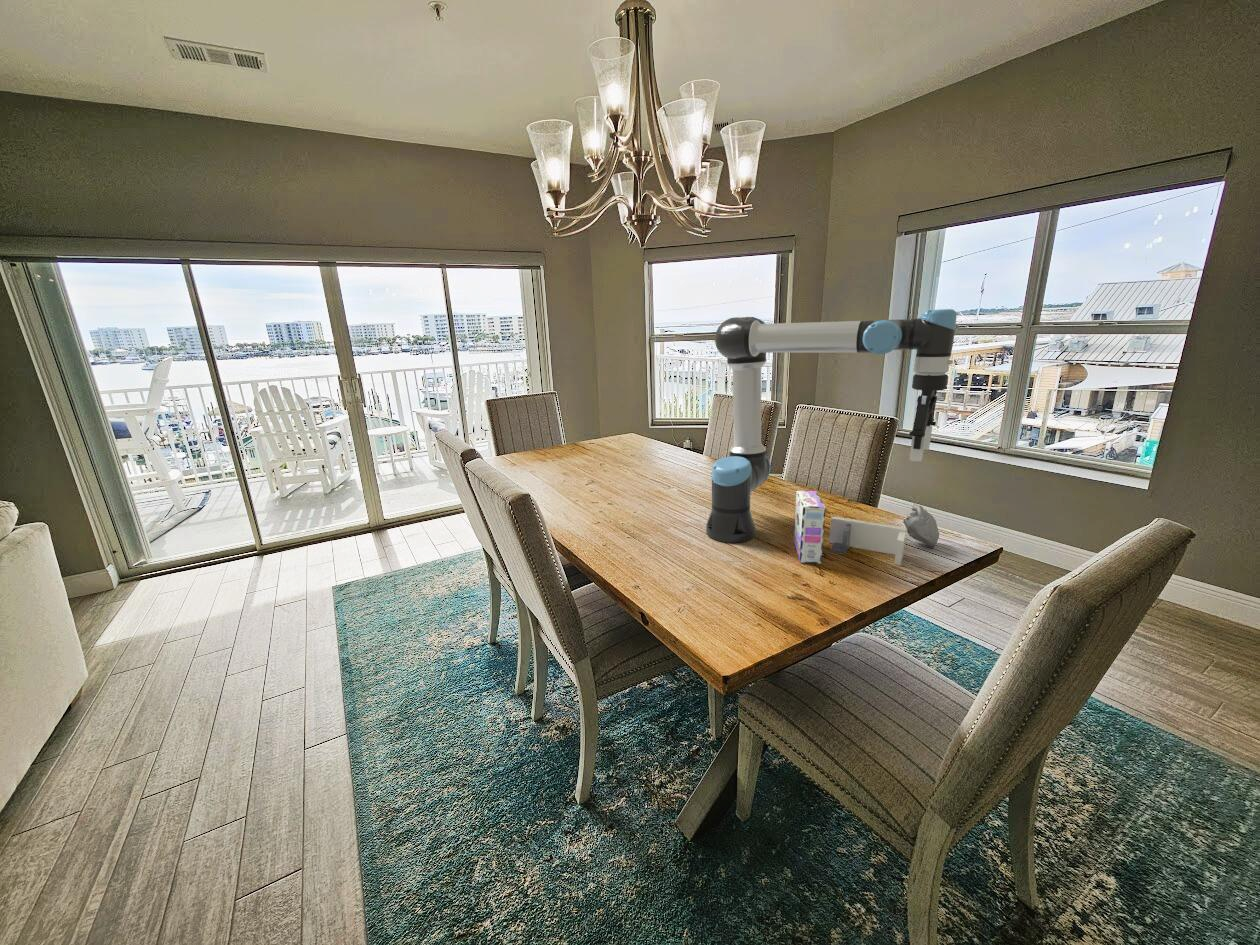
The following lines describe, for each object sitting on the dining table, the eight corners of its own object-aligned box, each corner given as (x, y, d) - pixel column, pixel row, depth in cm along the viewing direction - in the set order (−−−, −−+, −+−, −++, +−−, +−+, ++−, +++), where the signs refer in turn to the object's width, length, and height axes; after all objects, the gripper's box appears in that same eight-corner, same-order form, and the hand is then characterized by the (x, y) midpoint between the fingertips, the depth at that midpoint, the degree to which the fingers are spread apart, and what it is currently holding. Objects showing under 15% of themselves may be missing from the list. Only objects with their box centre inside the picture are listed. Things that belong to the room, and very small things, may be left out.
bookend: (830, 551, 135) (831, 528, 133) (834, 543, 140) (836, 521, 138) (845, 554, 133) (847, 531, 131) (849, 546, 138) (851, 523, 136)
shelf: (824, 550, 136) (826, 525, 134) (830, 540, 142) (832, 516, 140) (900, 565, 126) (904, 538, 124) (903, 554, 132) (906, 527, 130)
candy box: (822, 564, 128) (826, 507, 124) (799, 563, 129) (802, 506, 125) (813, 542, 141) (817, 490, 136) (792, 542, 142) (795, 489, 138)
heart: (915, 554, 131) (928, 513, 127) (891, 539, 139) (903, 501, 136) (946, 556, 132) (960, 516, 129) (921, 541, 141) (933, 503, 138)
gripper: (942, 379, 109) (929, 468, 115) (953, 369, 128) (941, 446, 134) (905, 378, 114) (894, 464, 120) (920, 369, 133) (911, 443, 139)
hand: (919, 454), depth 127 cm, fingers open, 13 cm apart
